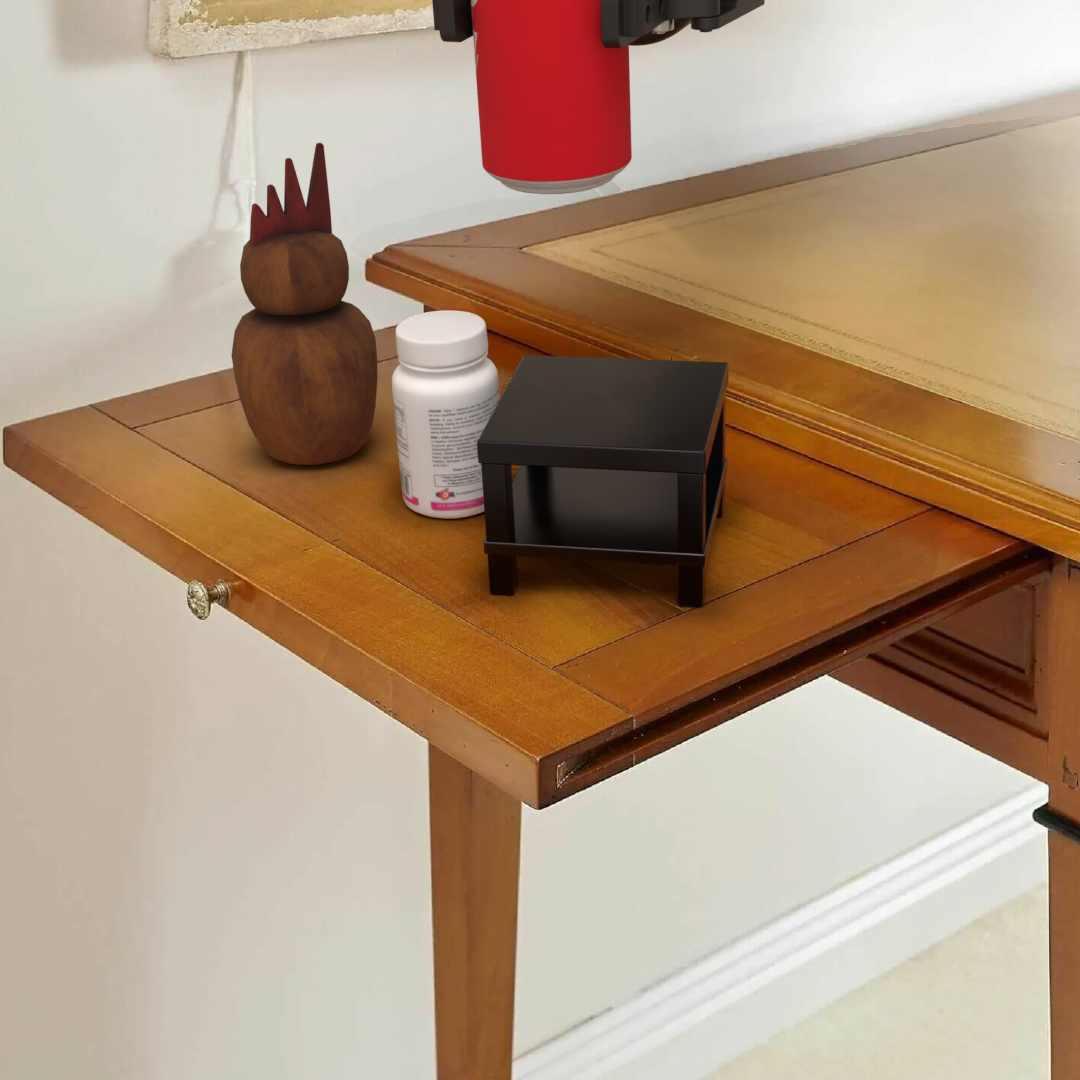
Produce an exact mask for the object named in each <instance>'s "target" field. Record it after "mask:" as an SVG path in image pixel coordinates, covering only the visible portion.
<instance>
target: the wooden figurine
mask: <svg viewBox="0 0 1080 1080" xmlns="http://www.w3.org/2000/svg"><path fill="white" fill-rule="evenodd" d="M314 147H315V148H314V154H313V159H312V165H311V172H310V177H309V178H310V179H309V186H308V191H307V199H306V202H305V199H304V195H303V191H302V189H301V184H300V182H299V178H298V175H297V171H296V168H295V165H294V162H293V159H292V158H290V157H286V158H285V160H284V187H283V188H284V192H283V193H284V194H283V195H284V196H283V202H284V203H283V205H282V203H281V200H280V198H279V194H278V192H277V188H276V187H275V186H274V185H273V184H267V186H266V213H265V212H264V211H263V209H262V207H261V206H260V205H258V203H253V204H252V205H251V212H250V226H249V228H250V229H249V239H248V241H247V242H245V244H244V245H243V246H242V253H241V259H240V263H239V269H240V270H239V272H240V281H241V284H242V288H243V291H244V294H245V295H246V297H247V299H248V301H249V302H250V304H251V305H252V306H253V309H252V310H249V311H248V312H246V313H245V314H243V315H242V316H241V318H240V320H239V322H238V324H237V325H236V327H235V329H234V332H233V333H234V334H233V339H232V347H231V348H232V349H231V362H232V369H233V374H234V375H233V376H234V380H235V384H236V389H237V393H238V398H239V401H240V404H241V406H242V409H243V412H244V415H245V418H246V421H247V424H248V426H249V428H250V430H251V432H252V433H253V435H254V437H255V439H256V441H257V442H258V444H259V445H260V447H261V448H262V450H263V451H264V452H265V454H266V455H267V456H269V457H270V458H272V459H274V460H277V461H279V462H281V463H284V464H289V465H290V464H291V465H297V466H298V465H299V466H300V465H302V466H304V465H305V466H306V465H307V466H311V465H312V466H316V465H323V464H328V463H333V462H336V461H341V460H344V459H346V458H349V457H352V456H353V455H355V454H356V453H357V452H359V450H360V449H361V448H362V447H363V445H365V443H366V442H367V440H368V437H369V435H370V433H371V430H372V428H373V423H374V417H375V411H376V404H377V393H378V391H377V390H378V378H379V375H378V374H379V373H378V351H377V339H376V336H375V332H374V329H373V327H372V324H371V321H370V320H369V318H368V317H367V316H366V315H365V314H364V313H363V311H362V310H361V309H360V308H359V307H357V306H356V305H354V304H353V303H350V302H349V301H348V302H347V301H345V300H342V299H344V296H345V295H346V292H347V289H348V285H349V281H350V265H349V259H348V252H347V251H346V248H345V245H344V244H343V241H342V240H341V239H340V238H339V237H337V236H336V235H335V234H334V233H333V226H332V213H331V202H330V201H331V200H330V191H329V183H328V173H327V162H326V155H325V153H326V152H325V146H324V144H323V143H322V142H317V143H315V146H314Z"/></svg>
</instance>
